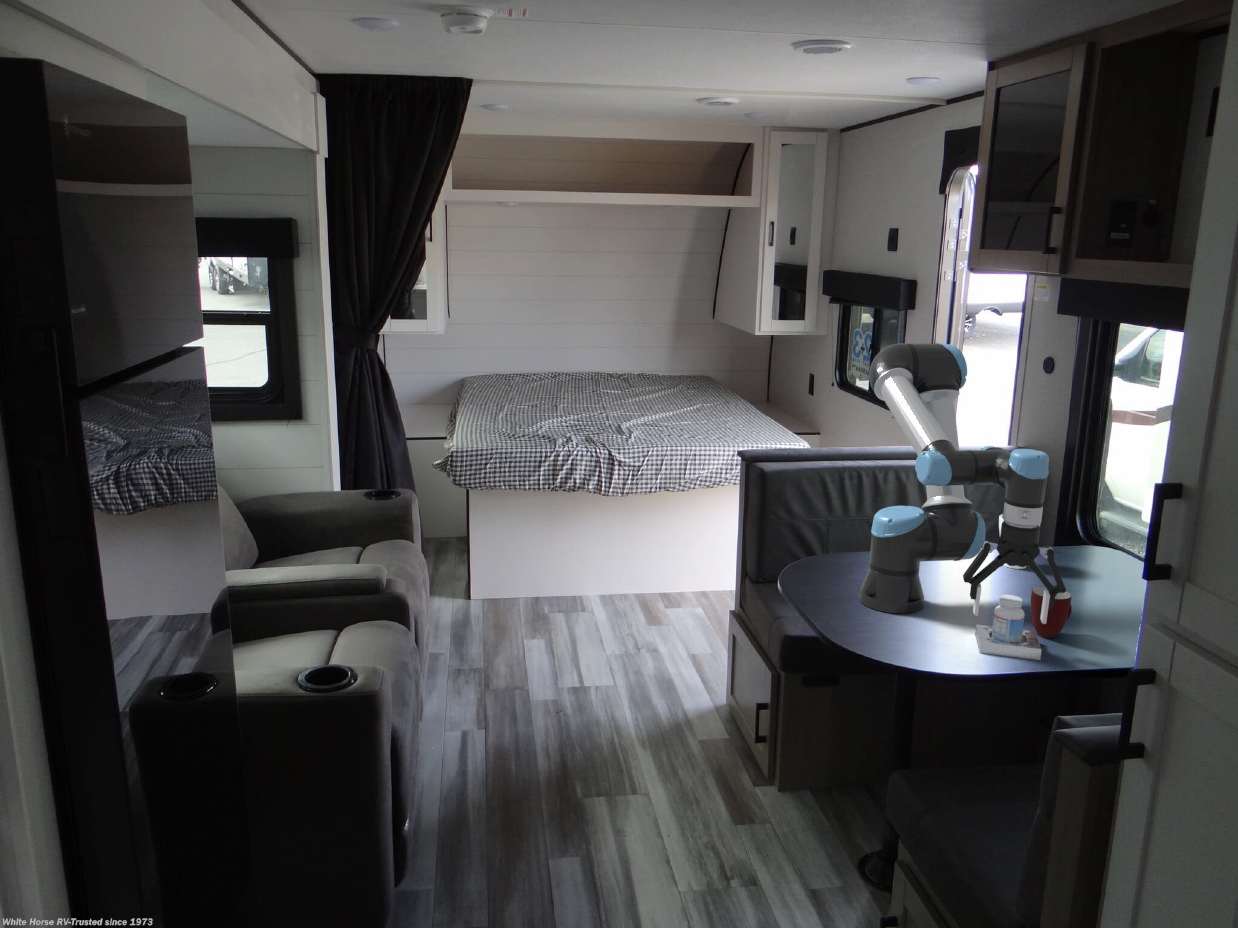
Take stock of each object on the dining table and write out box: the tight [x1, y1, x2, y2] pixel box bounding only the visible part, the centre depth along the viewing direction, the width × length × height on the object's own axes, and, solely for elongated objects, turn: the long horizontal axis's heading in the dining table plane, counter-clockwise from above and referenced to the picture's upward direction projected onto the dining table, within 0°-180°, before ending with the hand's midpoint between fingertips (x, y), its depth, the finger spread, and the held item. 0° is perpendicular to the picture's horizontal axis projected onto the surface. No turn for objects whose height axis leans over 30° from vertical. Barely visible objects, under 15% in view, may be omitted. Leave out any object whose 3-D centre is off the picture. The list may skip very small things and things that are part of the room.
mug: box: [1030, 586, 1073, 639], centre depth 207 cm, size 11×8×10 cm
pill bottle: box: [992, 594, 1026, 644], centre depth 199 cm, size 6×6×11 cm
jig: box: [974, 624, 1042, 661], centre depth 200 cm, size 12×10×2 cm
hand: (1009, 617), depth 199 cm, fingers open, 13 cm apart
